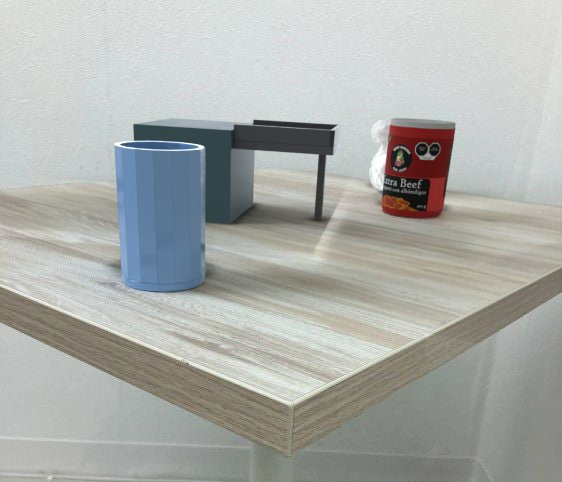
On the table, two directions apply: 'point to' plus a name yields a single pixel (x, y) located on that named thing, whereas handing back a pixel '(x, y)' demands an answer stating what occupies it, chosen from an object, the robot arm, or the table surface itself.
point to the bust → (379, 153)
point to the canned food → (417, 167)
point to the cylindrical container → (161, 214)
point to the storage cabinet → (243, 155)
